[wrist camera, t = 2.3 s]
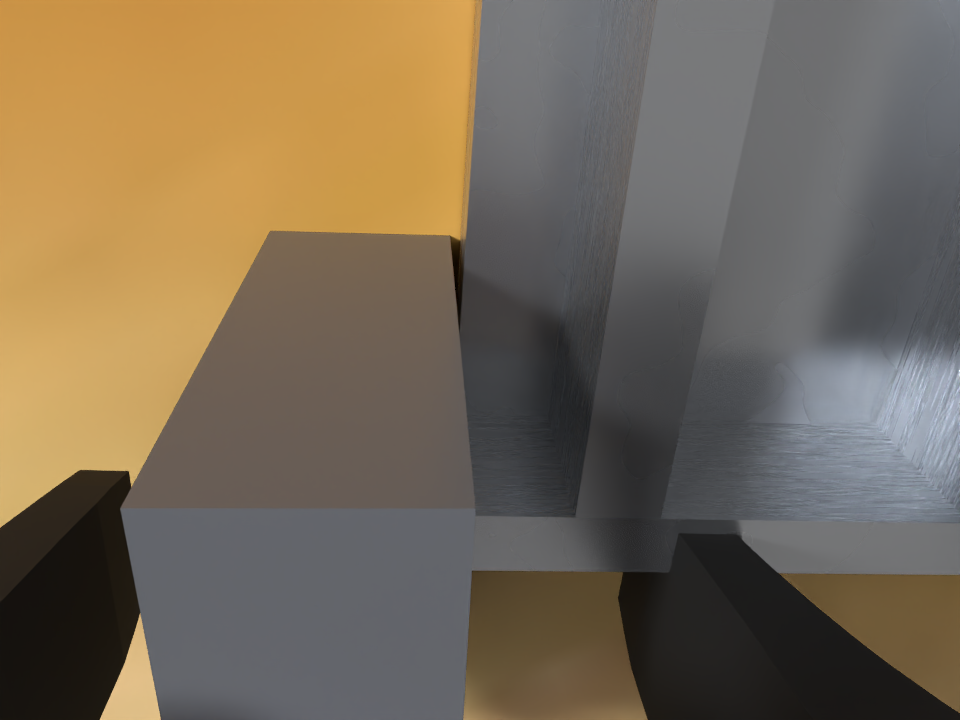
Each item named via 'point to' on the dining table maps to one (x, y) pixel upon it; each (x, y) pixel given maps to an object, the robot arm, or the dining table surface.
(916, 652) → the dining table surface
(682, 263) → the rack
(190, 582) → the block
